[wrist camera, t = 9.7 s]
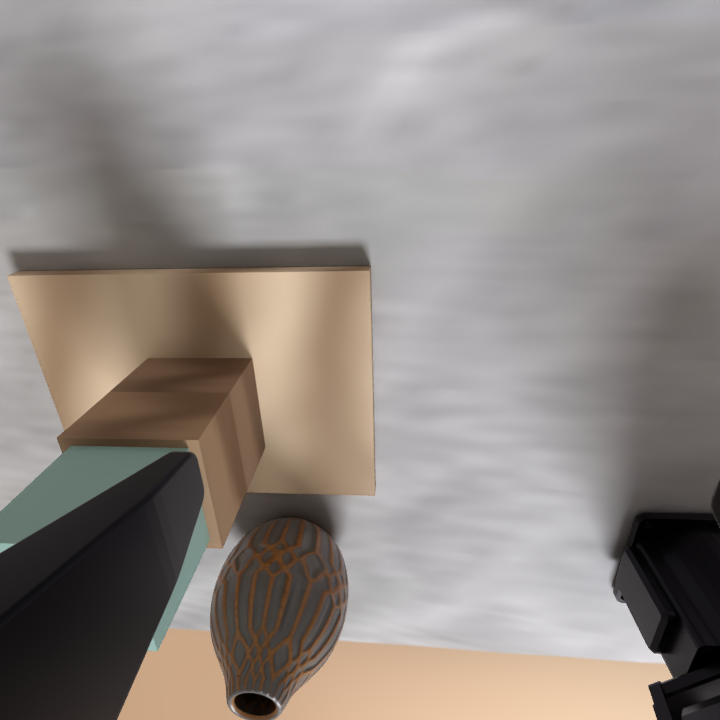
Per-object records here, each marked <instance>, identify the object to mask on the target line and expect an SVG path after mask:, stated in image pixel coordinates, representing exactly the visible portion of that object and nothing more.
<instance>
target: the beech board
mask: <svg viewBox="0 0 720 720" xmlns="http://www.w3.org/2000/svg"><path fill="white" fill-rule="evenodd" d="M7 277H8V280H9V283H10V285H11V288H12V291H13V294H14V296H15V299H16V302H17V304H18V307H19V310H20V312H21V315H22V318H23V320H24V323H25V326H26V328H27V331H28V334H29V337H30V339H31V342H32V345H33V347H34V350H35V353H36V355H37V358H38V361H39V363H40V366H41V369H42V371H43V374H44V377H45V380H46V382H47V385H48V388H49V390H50V393H51V396H52V398H53V401H54V404H55V406H56V409H57V412H58V414H59V417H60V420H61V423H62V425H63V428H64V431H65V430H66V429H67V428H69V427H70V426H71V425H72V424H73V423H74V422H75V421H77V420H78V419H79V418H80V417H81V416H82V415H83V414H85V413H86V412H87V411H88V410H89V409H90V408H91V407H93V406H94V405H95V404H96V403H97V402H98V401H99V400H101V399H102V398H103V397H104V396H105V395H106V394H107V393H109V392H110V391H111V390H112V389H113V388H114V387H115V386H117V385H118V384H119V383H120V382H121V381H122V380H123V379H125V378H126V377H127V376H128V375H129V374H130V373H131V372H133V371H134V370H135V369H136V368H137V367H138V366H139V365H141V364H142V363H143V362H144V361H145V360H146V359H147V358H252V359H253V366H254V372H255V379H256V386H257V393H258V399H259V406H260V413H261V420H262V426H263V433H264V440H265V450H264V452H263V454H262V457H261V459H260V462H259V464H258V466H257V469H256V471H255V473H254V476H253V478H252V480H251V483H250V485H249V487H248V490H247V492H246V493H286V494H327V495H368V496H375V487H376V482H375V437H374V391H373V346H372V301H371V266H341V267H271V268H202V269H133V270H64V271H19V272H16V273H13V274H11V275H8V276H7Z"/></svg>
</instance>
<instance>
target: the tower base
mask: <svg viewBox="0 0 720 720" xmlns="http://www.w3.org/2000/svg"><path fill="white" fill-rule="evenodd" d="M110 392H210V393H230V398H231V403H232V409H233V414H234V420H235V426H236V431H237V437H238V443H239V448H240V454H241V459H242V465H243V471H244V476H245V482H246V487H247V490H248V487H249V485H250V483H251V480H252V478H253V476H254V473H255V471H256V469H257V466H258V464H259V462H260V459H261V457H262V454H263V452H264V450H265V440H264V433H263V426H262V420H261V413H260V406H259V399H258V393H257V386H256V379H255V372H254V366H253V359H252V358H147V359H146V360H145V361H144V362H143V363H142V364H141V365H139V366H138V367H137V368H136V369H135V370H134V371H133V372H131V373H130V374H129V375H128V376H127V377H126V378H125V379H123V380H122V381H121V382H120V383H119V384H118V385H117V386H115V387H114V388H113V389H112V390H111V391H110Z"/></svg>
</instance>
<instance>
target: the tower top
mask: <svg viewBox="0 0 720 720" xmlns="http://www.w3.org/2000/svg"><path fill="white" fill-rule="evenodd" d="M57 440H58V443H59V445H60V448H61V450H62V453H64V452H65V451H66V450H67V449H68V448H69V447H70V446H111V447H158V448H189V451H190V452H193V453H194V454H195V455H196V456H197V459H198V463H199V467H200V471H201V476H202V480H203V485H204V500H203V503H202V507H203V511H204V516H205V520H206V524H207V529H208V533H209V537H210V540H209V542H208V545H207V547H206V548H220V549H222V548H223V546H224V544H225V541H226V539H227V537H228V534H229V532H230V530H231V527H232V525H233V523H234V520H235V518H236V516H237V513H238V511H239V509H240V506H241V504H242V501H243V499H244V497H245V494H246V492H247V487H246V482H245V476H244V471H243V465H242V459H241V454H240V448H239V443H238V437H237V431H236V426H235V420H234V414H233V409H232V403H231V398H230V393H210V392H109V393H107V394H106V395H105V396H104V397H103V398H102V399H101V400H99V401H98V402H97V403H96V404H95V405H94V406H93V407H91V408H90V409H89V410H88V411H87V412H86V413H85V414H83V415H82V416H81V417H80V418H79V419H78V420H77V421H75V422H74V423H73V424H72V425H71V426H70V427H69V428H67V429H66V430H65V431H64V432H63V433H62V434H61V435H59V436H58V437H57Z"/></svg>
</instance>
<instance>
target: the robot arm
mask: <svg viewBox="0 0 720 720" xmlns="http://www.w3.org/2000/svg"><path fill="white" fill-rule="evenodd" d="M203 500H204V485H203V480H202V476H201V471H200V467H199V463H198V459H197V456H196V455H195V454H194V453H193V452H184V451H173V452H170V453H168V454H166V455H164V456H163V457H161V458H159V459H158V460H156V461H154V462H152V463H151V464H149V465H147V466H146V467H144V468H142V469H141V470H139V471H137V472H136V473H134V474H132V475H131V476H129V477H127V478H126V479H124V480H122V481H120V482H119V483H117V484H115V485H114V486H112V487H110V488H109V489H107V490H105V491H104V492H102V493H100V494H99V495H97V496H95V497H94V498H92V499H90V500H88V501H87V502H85V503H83V504H82V505H80V506H78V507H77V508H75V509H73V510H72V511H70V512H68V513H67V514H65V515H63V516H61V517H60V518H58V519H56V520H55V521H53V522H51V523H50V524H48V525H46V526H45V527H43V528H41V529H40V530H38V531H36V532H35V533H33V534H31V535H29V536H28V537H26V538H24V539H23V540H21V541H19V542H18V543H16V544H14V545H13V546H11V547H9V548H8V549H6V550H4V551H3V552H1V553H0V720H117V719H118V716H119V714H120V712H121V709H122V707H123V705H124V703H125V700H126V698H127V696H128V693H129V691H130V689H131V686H132V684H133V682H134V680H135V677H136V675H137V673H138V671H139V668H140V666H141V664H142V661H143V659H144V657H145V655H146V652H147V650H148V648H149V645H150V643H151V641H152V639H153V636H154V634H155V632H156V629H157V627H158V625H159V623H160V620H161V618H162V616H163V614H164V611H165V609H166V607H167V604H168V602H169V600H170V598H171V595H172V593H173V590H174V588H175V586H176V583H177V581H178V578H179V575H180V572H181V569H182V566H183V563H184V560H185V557H186V554H187V550H188V547H189V544H190V541H191V538H192V535H193V532H194V528H195V525H196V522H197V519H198V516H199V513H200V509H201V506H202V503H203ZM711 507H712V512H713V514H675V513H642V514H640V515H638V516H637V517H636V518H635V520H634V524H633V527H632V530H631V533H630V537H629V540H628V543H627V547H626V549H625V550H624V552H623V555H622V558H621V562H620V565H619V568H618V572H617V575H616V578H615V582H616V583H615V586H614V590H613V593H614V595H615V597H616V599H617V601H619V602H621V603H626V604H627V606H628V608H629V610H630V612H631V614H632V616H633V618H634V620H635V622H636V624H637V626H638V628H639V630H640V632H641V634H642V636H643V638H644V640H645V642H646V644H647V646H648V648H649V649H650V650H651V651H652V652H653V653H657V654H661V655H662V657H663V659H664V661H665V663H666V665H667V667H668V669H669V671H670V673H671V675H672V676H673V678H672V679H670V680H667V681H665V682H662V683H661V682H660V681H658V682H655V683H653V684H650V685H648V686H649V690H650V693H651V696H652V699H653V702H654V705H653V708H654V711H655V714H656V717H657V720H720V479H719V482H718V484H717V487H716V489H715V492H714V494H713V497H712V501H711ZM646 522H647V523H646Z"/></svg>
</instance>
